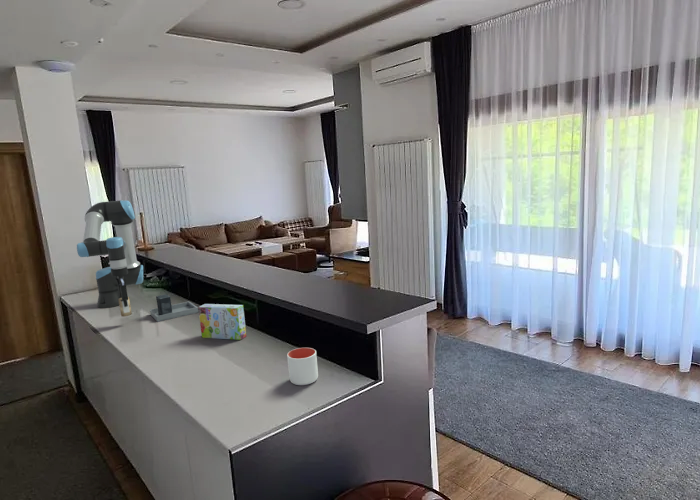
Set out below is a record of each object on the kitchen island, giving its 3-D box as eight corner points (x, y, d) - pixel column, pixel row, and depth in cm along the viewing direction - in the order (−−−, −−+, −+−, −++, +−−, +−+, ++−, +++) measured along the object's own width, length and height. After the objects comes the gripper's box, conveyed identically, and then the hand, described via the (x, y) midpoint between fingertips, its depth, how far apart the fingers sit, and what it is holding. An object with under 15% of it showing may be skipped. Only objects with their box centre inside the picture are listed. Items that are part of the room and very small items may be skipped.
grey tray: (150, 314, 250) (149, 309, 250) (189, 306, 262) (189, 301, 262) (157, 322, 236) (156, 316, 235) (198, 312, 248) (197, 307, 247)
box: (172, 314, 245) (170, 296, 243) (162, 317, 242) (159, 298, 240) (168, 312, 251) (166, 293, 249) (158, 314, 248) (155, 296, 246)
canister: (120, 314, 234) (117, 298, 232) (130, 312, 237) (128, 296, 235) (121, 317, 230) (119, 300, 228) (132, 314, 233) (129, 298, 231)
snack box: (247, 336, 205) (243, 304, 202) (240, 340, 199) (236, 308, 197) (208, 333, 212) (204, 303, 209) (201, 338, 206) (196, 306, 204)
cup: (290, 375, 161) (287, 349, 159) (318, 372, 161) (316, 346, 160) (289, 388, 151) (286, 360, 149) (318, 385, 152) (316, 357, 150)
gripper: (108, 266, 234) (115, 308, 238) (113, 271, 219) (120, 316, 223) (124, 263, 238) (130, 305, 242) (129, 268, 223) (136, 313, 228)
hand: (125, 310), depth 233 cm, fingers closed on canister, 5 cm apart
